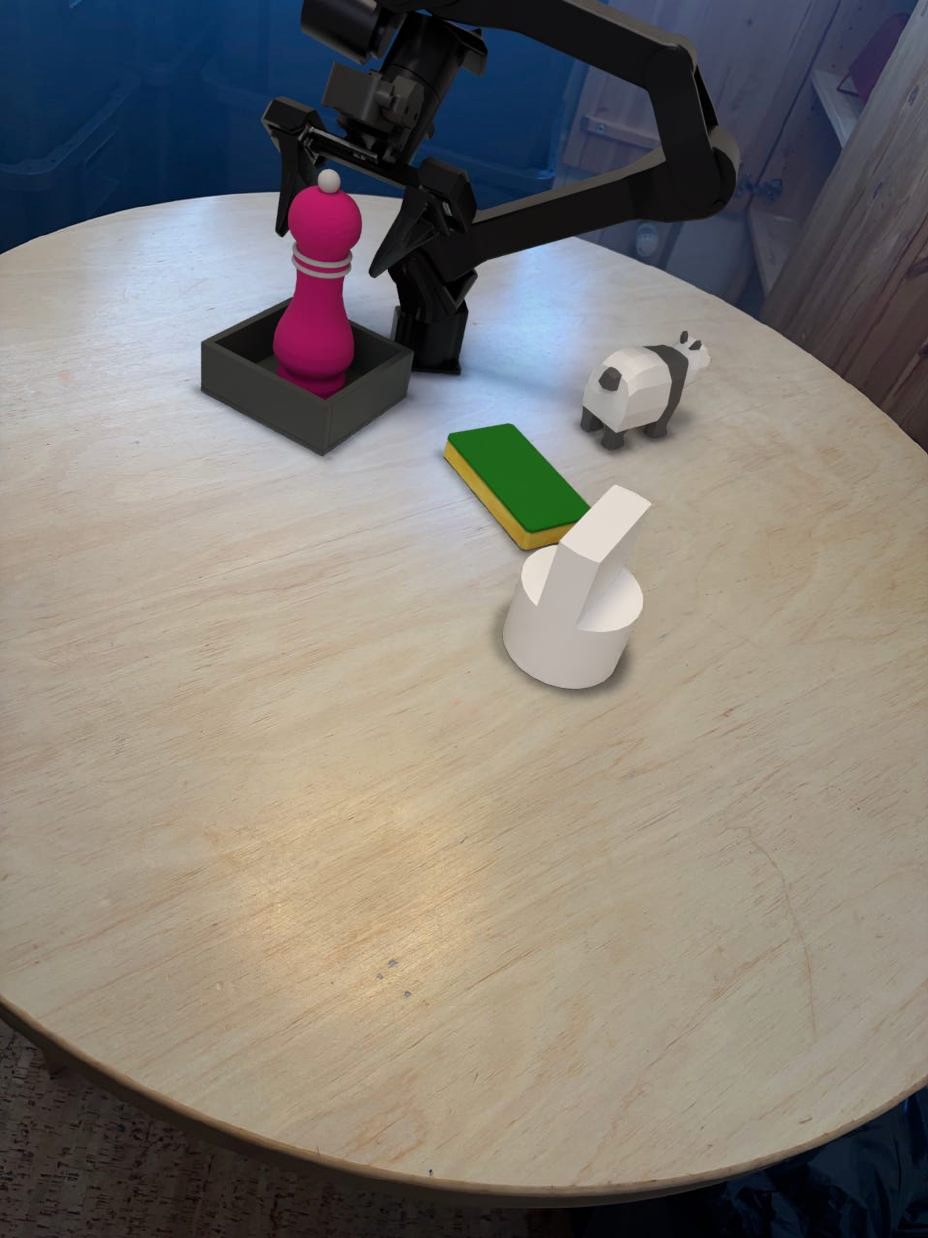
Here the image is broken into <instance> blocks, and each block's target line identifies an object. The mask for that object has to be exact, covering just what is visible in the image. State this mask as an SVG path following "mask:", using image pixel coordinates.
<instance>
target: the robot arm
mask: <svg viewBox="0 0 928 1238" xmlns="http://www.w3.org/2000/svg"><path fill="white" fill-rule="evenodd" d="M422 10H424V11H425V12H427V13H428V14H426V13H420V12H419V11H422ZM457 24H459V25H460V24H461V25H465V26H470V27H473V29H467V28H463V27H460V26H459V25H457ZM483 29H491V30H492V29H493V30H503V31H507V32H511V33H512V32H513V33H516V34H520V35H522V36H524V37H527V38H528V39H531V40H533V41H536V42H538V43H540V44H543V45H544V46H547V47H549V48H551V49H552V50H553V49H554V50H556V51H557V52H560V53H562V54H565V55H567V56H569V57H571V58H574V59H576V60H578V61H580V62H582V63H585V64H588V65H589V66H591V67H594V68H596V69H598V70H600V71H603V72H605V73H607V74H609V75H611V76H614V77H616V78H619V79H620V80H623V81H624V82H628V83H629V84H631V85H634V86H636V87H638V88H640V89H643V90H644V91H646V92H647V94H648V97H649V99H650V102H651V106H652V110H653V115H654V118H655V123H656V128H657V132H658V136H659V140H660V145H659V146H658V147H656V148H654V149H653V150H651V151H650V152H648V153H647V154H645V155H643V156H642V157H640V158H638V159H637V160H636V161H634V162H633V163H630V164H629V165H627V166H625V167H622V168H618V169H615V170H611V171H608V172H605V173H602V174H599V175H595V176H592V177H588V178H585V179H582V180H579V181H575V182H572V183H569V184H565V185H562V186H559V187H556V188H553V189H549V190H546V191H541V192H539V193H535V194H532V195H529V196H526V197H523V198H520V199H517V200H513V201H510V202H505V203H503V204H500V205H496V206H493V207H490V208H487V209H481V210H480V209H479V210H478V204H477V203H478V202H477V200H476V197H475V194H474V191H473V187H472V184H471V180H470V178H469V175H468V172H467V170H465V169H463V168H460V167H457V166H456V165H453V164H450V163H448V162H445V161H443V160H441V159H439V158H436V157H433V156H431V155H430V156H428V157H426V158H423V159H422V160H421V162H420V164H419V166H418V167H415V166H413V165H412V163H413V161H414V159H415V157H416V155H417V153H418V151H419V149H420V147H421V145H422V143H423V141H424V139H426V140H428V141H431V140H432V138H433V137H434V135H435V132H436V126H435V124H434V120H435V117H436V116H437V114H438V112H439V110H440V108H441V106H442V105H443V102H444V100H445V98H446V97H447V94H448V92H449V90H450V88H451V87H452V84H453V83H454V81H455V79H456V77H457V75H458V73H459V72H460V69H461V68H462V69H464V70H466V71H467V72H468V73H469V72H470V73H471V74H472V75H475V76H476V77H478V78H482V77H483V76H484V75H485V72H486V69H487V62H488V57H489V49H488V47H487V44H486V42H485V41H484V37H483ZM300 30H301V32H302V33H303V34H305V35H307V36H309V37H310V38H312V39H313V40H315V41H317V42H319V43H321V44H323V45H324V46H326V47H328V48H330V49H331V50H333V51H335V52H337V53H338V54H340V55H342V56H344V57H346V58H347V59H349V60H350V61H352V62H354V63H356V64H358V65H360V66H362V67H365V66H366V65H367V64H368V63H369V62H370V61H371V59H372V58H374V59H376V60H377V61H381V60H382V59H383V58H384V57H385V58H384V59H383V62H382V63H381V66H380V67H379V69H378V70H376V69H374V68H371V67H370V68H369V69H368V70H367V71H366V72H364V71H362V70H359V69H356V68H353V67H351V66H348V65H346V64H343V63H341V62H338V61H333V63H332V67H331V70H330V72H329V76H328V78H327V79H328V80H327V83H326V86H325V90H324V92H323V95H322V99H321V102H320V104H321V106H323V107H324V108H330V109H333V110H334V111H336V112H337V113H338V114H337V115H336V118H335V122H336V123H337V125H338V127H339V128H340V129H342V130H344V132H345V135H344V137H342V136H339V135H338V134H335V133H333V132H330V131H329V130H328V129H327V127H326V126H325V124H324V123H325V122H323V120H322V118H321V116H320V114H319V112H318V110H317V109H315V108H313V107H311V106H308V105H306V104H303V103H301V102H298V101H296V100H295V99H292V98H289V97H286V96H283V95H281V96H277V97H275V98H273V99H272V100H271V101H269V103H268V105H267V106H266V109H265V111H264V113H263V115H262V117H260V118H261V119H260V122H261V124H262V125H263V127H264V128H265V130H266V131H267V133H268V134H269V137H270V139H271V141H272V142H273V144H274V146H275V147H276V149H277V150H278V152H279V154H280V159H281V177H280V178H281V179H280V187H279V188H280V189H279V196H278V203H277V211H276V219H275V227H274V233H276V234H277V237H280V238H284V237H285V236H286V234H287V233H289V232H290V229H289V226H288V215H289V210H290V207H291V204H292V202H293V200H294V198H295V197H296V196H297V195H298V194H299V193H300V192H301V191H303V190H304V189H306V188H309V187H312V186H319V185H318V177H319V174H320V173H319V171H318V170H320V169H322V168H325V167H326V166H327V164H328V162H329V160H331V161H334V162H336V163H338V164H341V165H343V166H345V167H348V168H350V169H353V170H355V171H358V172H360V173H361V174H364V175H367V176H369V177H372V178H374V179H376V180H379V181H382V182H384V183H385V184H388V185H390V186H393V187H396V188H398V189H400V190H403V191H404V192H403V197H402V201H401V205H400V209H399V212H398V213H397V215H396V217H395V218H394V220H393V222H392V224H391V226H390V227H389V229H388V231H387V232H386V235H385V236H384V238H383V239H382V241H381V243H380V245H379V247H378V249H377V250H376V253H375V254H374V256H373V259H372V261H371V263H370V266H369V268H368V272H367V273H368V275H369V277H370V278H372V279H377V278H378V277H379V276H381V275H382V274H383V273H385V272H386V271H387V274H388V275H389V277H390V279H391V280H392V282H393V283H394V284H395V287H396V292H397V297H398V302H399V305H396V306H394V311H393V317H392V324H391V331H390V338H389V339H390V340H393V341H395V342H397V343H399V344H401V345H403V346H405V347H407V348H409V349H411V350H413V351H414V356H413V361H412V367H411V373H413V372H414V373H425V374H436V375H438V374H439V375H449V376H450V375H451V376H460V375H462V367H461V363H460V356H461V351H462V347H463V342H464V337H465V332H466V328H467V323H468V319H469V315H470V311H469V308H468V304H467V302H466V299H465V298H466V296H467V295H468V293H469V292H470V291H471V289H472V288H473V286H474V284H475V283H476V281H477V279H478V277H479V274H478V272H477V271H476V269H475V268H477V267H479V266H480V265H482V264H484V263H485V262H487V261H490V260H495V259H498V258H502V257H505V256H508V255H512V254H517V253H519V252H523V251H527V250H530V249H534V248H537V247H541V246H544V245H548V244H552V243H555V242H559V241H561V240H562V241H563V240H565V239H569V238H570V239H571V238H573V237H576V236H580V235H584V234H587V233H591V232H594V231H598V230H601V229H605V228H609V227H612V226H616V225H619V224H623V223H627V222H631V221H644V222H650V223H651V222H652V223H660V224H661V223H662V224H671V223H681V222H695V221H702V220H708V219H710V218H712V217H714V216H716V215H718V214H719V213H721V212H722V211H724V209H725V207H726V206H727V205H728V204H729V202H730V201H731V199H732V198H733V196H734V192H735V190H736V187H737V181H738V176H739V169H740V163H741V152H740V148H739V145H738V142H737V140H736V139H735V137H733V135H732V134H731V133H730V132H729V131H727V130H726V129H725V128H722V127H721V125H720V122H719V118H718V115H717V111H716V108H715V105H714V101H713V99H712V97H711V95H710V94H711V93H710V92H709V90H708V87H707V85H706V82H705V79H704V77H703V73H702V71H701V68H700V65H699V62H698V54H697V53H698V52H697V49H696V46H695V45H694V43H693V42H692V40H691V39H690V38H688V37H687V36H685V35H683V34H681V33H674V32H669V31H666V30H664V29H662V28H660V27H657V26H655V25H652V24H650V23H648V22H646V21H644V20H642V19H640V18H637V17H635V16H634V15H633V16H632V15H630V14H628V13H626V12H623V11H622V10H620V9H619V10H618V8H615V7H613V6H611V5H609V4H606V3H604V2H602V1H599V0H303V2H302V7H301V11H300ZM397 31H398V33H397V34H396V32H397ZM395 34H396V36H395ZM394 36H395V38H394ZM393 39H394V40H393ZM392 41H393V42H392ZM391 43H392V44H391ZM390 45H391V47H390ZM388 49H389V50H388ZM387 51H388V52H387ZM386 53H387V54H386ZM385 55H386V56H385Z"/></svg>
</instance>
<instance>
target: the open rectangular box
mask: <svg viewBox="0 0 928 1238" xmlns="http://www.w3.org/2000/svg"><path fill="white" fill-rule="evenodd" d="M292 298H293V296H291V297H288V298H287V299H284V300H282V301H281V302H279V303H277V304H275V305H272V306H270V307H268V308H266V309H264V310H262V311H260V312H258V313H256V314H254V315H252V316H250V317H249V318H246V319H244V320H242V321H240V322H238V323H236V324H233V325H231V326H230V327H228V328H225V329H224V330H221V331H220V332H217V333H215V334H213V335H211V336H209V337H207V338H206V339H203V340H202V341H200V392H202V393H204V394H205V395H207V396H209V397H211V398H213V399H215V400H217V401H218V402H221V403H223V404H224V405H226V406H228V407H230V408H231V409H234V410H235V411H237V412H239V413H241V414H243V415H245V416H247V417H249V418H250V419H252V420H254V421H256V422H258V423H260V424H262V425H264V426H265V427H267V428H269V429H272V430H273V431H274V432H276V433H278V434H280V435H282V436H284V437H286V438H288V439H289V440H292V441H293V442H295V443H297V444H299V445H301V446H303V447H304V448H307V450H310V451H312V452H314V453H316V454H318V455H319V456H321V457H322V456H324V455H325V454H327V453H328V452H330V451H331V450H333V449H334V448H336V447H337V446H339V445H340V444H342V442H344V441H345V440H347V439H348V438H350V437H351V436H353V435H354V434H356V433H357V432H359V431H360V430H361V429H363V428H364V427H366V426H367V425H368V424H370V423H371V422H373V421H374V420H376V419H377V418H379V417H380V416H382V414H384V413H386V412H387V411H388V410H390V409H391V408H393V407H395V406H396V405H398V403H400V402H401V401H403V400H404V399H406V398H407V397H408V396H407V395H408V390H409V383H410V378H411V373H412V371H411V367H412V361H413V356H414V351H413V350H411V349H409V348H407V347H405V346H403V345H401V344H399V343H397V342H395V341H393V340H390V338H388V337H386V336H384V335H383V334H380V333H378V332H377V331H374V330H372V329H370V328H368V327H366V326H364V325H362V324H360V323H358V322H356V321H353V320H352V319H349V318H348V320H349V323H350V326H351V330H352V334H353V340H354V357H353V361H352V363H351V365H350V366H349V367H348V369H346V370H345V371H344V374H345V387H344V388H343V389H342V390H340V391H339V392H337V393H336V394H334V395H332V396H331V397H329V398H328V399H326V400H324V399H322V398H320V397H319V396H317V395H315V394H313V393H311V392H309V391H307V390H305V389H303V388H301V387H299V386H297V385H295V384H293V383H291V382H290V381H288V380H286V379H284V378H282V377H280V376H278V375H277V368H278V366H279V364H280V363H279V361H278V360H277V358H276V356H275V354H274V351H273V342H274V335H275V331H276V328H277V326H278V323H279V321H280V319H281V318H282V316H283V314H284V313H285V311H286V309H287V308H288V306H289V304H290V302H291V301H292Z"/></svg>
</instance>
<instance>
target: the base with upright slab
mask: <svg viewBox="0 0 928 1238" xmlns="http://www.w3.org/2000/svg"><path fill="white" fill-rule="evenodd" d="M651 506H652V503H651V502H650V501H649V500H648V499H646V498H644V497H643V496H641V495H639V494H638V493H636V492H635V491H632V490H630V489H627V488H625V487H622V486H620V485H617V484H613V485H612V486H611V487H610V488H609V489H608V490H607V491H606V492H605V493H604V494H603V495H602V496H601V497H600V498H599V499H598V501H597V502H596V503H594V504H593V506H591V509H590V510H589V511H588V512H587V513H586V514H585V515H584V516H583V517H582V518H581V519H580V520H579V521H578V522H577V523H576V524H575V525H574V526H573V528H572V529H571V530H570V531H569V532H568V533H567V534H566V535H565V536H564V537H563V538H562V539H561V540H560V541H559V542H558V544H555V545H547V546H546V547H542V548H541V549H537V550H536V551H534V552H533V553H532V554H531V555H529V556H528V557H527V559H526V560H525V562H524V563H523V565H522V567H521V570H520V573H519V577H518V580H517V583H516V586H515V589H514V593H513V596H512V599H511V601H510V605H509V609H508V612H507V615H506V617H505V621H504V625H503V629H502V639H503V645H504V648H505V649H506V652H507V653H508V655H509V657H510V659H511V660H512V661H513V662H514V663H515V664H516V665H517V666H518V668H519V669H521V671H523V672H525V673H526V674H528V676H530V677H531V678H533V679H535V680H537V681H540V682H542V683H544V684H546V685H549V686H552V687H553V686H554V687H557V688H561V689H572V690H573V689H574V690H581V689H586V688H593V687H595V686H597V685H599V684H601V683H603V682H605V681H606V680H607V679H608V678H609V677H610V676H611V675H613V673H614V671H615V669H616V667H617V665H618V663H619V661H620V658H621V656H622V654H623V652H624V650H625V647H626V645H627V643H628V641H629V639H630V636H631V634H632V632H633V631H634V630H633V629H634V627H635V626H636V624H637V621H638V618H639V617H640V615H641V613H642V610H643V608H644V606H643V605H644V595H643V591H642V589H641V586H640V584H639V582H638V581H637V580H636V578H635V576H634V575H633V573H631V572H630V571H629V569H628V568H626V566H627V563H628V562H629V559H630V557H631V554H632V552H633V549H634V548H635V545H636V542H637V540H638V537H639V535H640V534H641V531H642V528H643V526H644V523H645V520H646V518H647V516H648V514H649V511H650V509H651Z"/></svg>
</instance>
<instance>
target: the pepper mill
mask: <svg viewBox="0 0 928 1238" xmlns="http://www.w3.org/2000/svg"><path fill="white" fill-rule="evenodd" d="M340 186H341V177H340V175H339V174H338V172H337V171H335V170H333V169H330V168H328V169H323V170H321V172H320V173H319V177H318V186H312V187H309V188H306V189H304V190H303V191H301V192H300V193H299V194H298V195H297V196H296V197H295V198H294V200H293V202H292V204H291V207H290V210H289V215H288V226H289V229H290V230H289V232H290V234H291V236H292V238H293V239H294V241H295V242H294V243H293V244H292V246H291V249H292V255H291V263H292V265H293V266H294V267H295V269H296V280H295V288H294V292H293V295H292V297H293V298H292V301H291V302H290V304H289V306H288V308H287V309H286V311H285V313H284V314H283V316H282V318H281V319H280V321H279V323H278V326H277V328H276V331H275V335H274V342H273V351H274V354H275V356H276V358H277V360H278V361H279V363H280V364H279V366H278V368H277V375H278V376H280V377H282V378H284V379H286V380H288V381H290V382H291V383H293V384H295V385H297V386H299V387H301V388H303V389H305V390H307V391H309V392H311V393H313V394H315V395H317V396H319V397H320V398H322V399H324V400H326V399H328V398H329V397H331V396H332V395H334V394H336V393H337V392H339V391H340V390H342V389H343V388H344V387H345V374H344V371H345V370H346V369H348V367H349V366H350V365H351V363H352V361H353V357H354V340H353V334H352V330H351V326H350V323H349V320H350V319H349V318H348V314H347V311H346V307H345V303H344V302H345V301H344V282H345V277H346V276H347V275H348V274H349V273H351V270H352V261H353V259H354V257H353V252H352V249H353V248H354V247H355V246H356V245H357V244H358V243H359V241H360V239H361V236H362V231H363V218H362V213H361V210H360V208H359V205H358V203H357V202H356V200H355V199H354V198H353V197H352V196H351V195H349V194H348V193H347V192H345V191H343V190H342V189H340ZM348 319H349V320H348Z"/></svg>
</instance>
